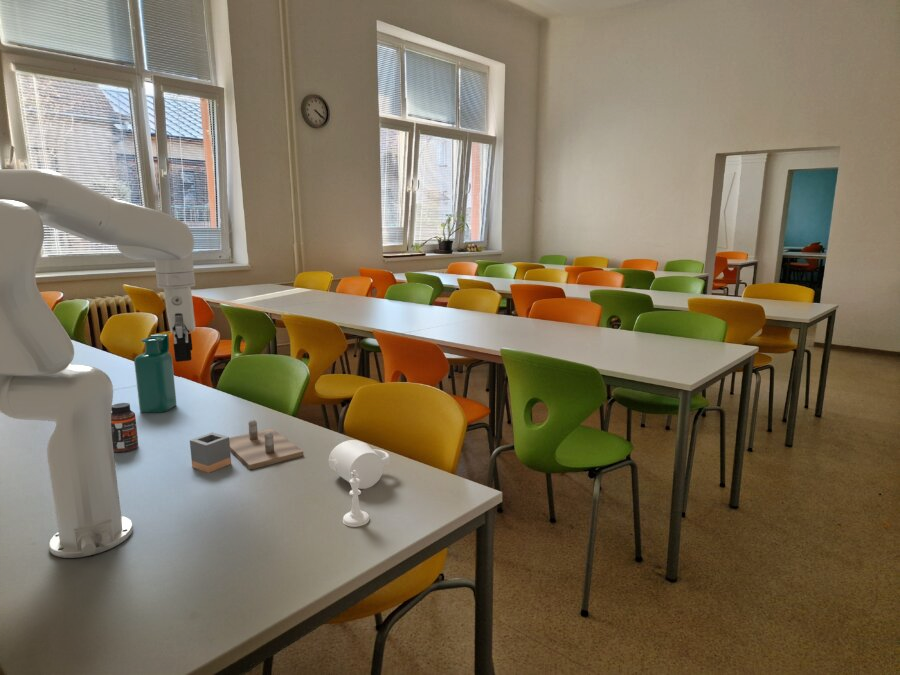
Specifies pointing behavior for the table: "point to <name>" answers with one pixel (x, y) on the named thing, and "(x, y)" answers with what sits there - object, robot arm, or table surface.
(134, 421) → the supplement bottle
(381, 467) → the mug
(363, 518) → the chess piece
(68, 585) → the table surface
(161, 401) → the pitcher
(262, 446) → the pin board
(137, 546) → the table surface
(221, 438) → the sleeve
